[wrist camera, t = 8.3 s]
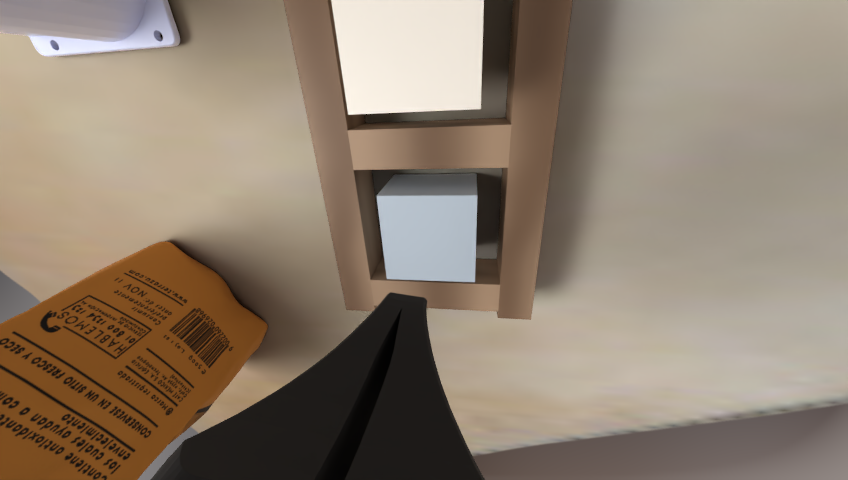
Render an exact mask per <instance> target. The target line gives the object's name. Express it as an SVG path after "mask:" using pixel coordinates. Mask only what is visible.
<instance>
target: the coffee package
mask: <svg viewBox="0 0 848 480" xmlns="http://www.w3.org/2000/svg"><path fill="white" fill-rule="evenodd" d="M267 328H268V325H267V324H266V323H265V321H263V320H262V319H261V318H259V317H258V316H256V315H255V314H254V313H252V312H251V311H249V310H247V309H246V308H244V307H243V306H241V305H240V304H239V303H238V302H237V301H236V299H235V298H234V296H233V295H232V293H231V291H230V289H229V287H228V285H227V284H226V283H225V281H224V280H223V279H222V278H221V277H220V276H219V275H218V274H217V273H216V272H214V271H213V270H211V269H210V268H208V267H206V266H205V265H203V264H201V263H199V262H198V261H196V260H194V259H192V258H191V257H189V256H188V255H186V254H185V253H183V252H182V251H181V250H180V249H178V248H177V247H176V246H175V245H173V244H172V243H170V242H166V241H165V242H159V243H156V244H153V245H151V246H149V247H147V248H145V249H142V250H140V251H138V252H136V253H134V254H132V255H130V256H128V257H126V258H124V259H122V260H119V261H117V262H115V263H113V264H111V265H109V266H107V267H105V268H103V269H101V270H99V271H97V272H95V273H94V274H92V275H91V276H89V277H87V278H85V279H83V280H81V281H79V282H77V283H76V284H74V285H72V286H70V287H68V288H66V289H65V290H63V291H61V292H59V293H58V294H56V295H54V296H52V297H50V298H49V299H47V300H45V301H43V302H41V303H40V304H38V305H36V306H35V307H33V308H31V309H29V310H28V311H26V312H24V313H22V314H19V315H17V316H15V317H13V318H11V319H9V320H7V321H5V322H3V323H1V324H0V480H137V479H138V478H139V477H140V476H141V474H142V473H143V472H144V471H145V470H146V469H147V467H148V466H149V465H150V464H151V463H152V462H153V461H154V460H155V459H156V458H157V456H158V455H159V454H160V453H161V452H162V451H163V450H164V449H165V448H166V446H167V445H168V444H170V443H171V442H172V441H173V440H174V439H176V438H177V437H178V436H179V435H181V434H182V433H183V432H185V431H186V430H187V429H188V428H189V427H190V426H191V425H193V424H194V423H195V422H196V421H197V420H198V419H199V418H201V417H202V416H203V415H204V414H205V413H206V412H207V410H208V409H209V408H210V407H211V405H212V404H213V403H214V401H215V400H216V399H217V398H218V396H219V395H220V394H221V393H222V392H223V390H224V389H225V388H226V387H227V386H228V385H229V383H230V382H231V381H232V380H233V378H234V377H235V376H236V374H237V373H238V372H239V371H240V369H241V368H242V366H243V365H244V364H245V362H246V361H247V360H248V359H249V357H250V356H251V355H252V354H253V353H254V352H255V351H256V350H257V349H258V348H259V346H260V344H261V342H262V340H263V338H264V336H265V333H266V331H267Z"/></svg>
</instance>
